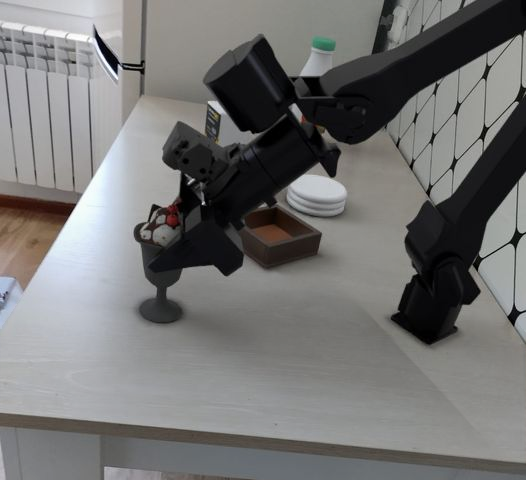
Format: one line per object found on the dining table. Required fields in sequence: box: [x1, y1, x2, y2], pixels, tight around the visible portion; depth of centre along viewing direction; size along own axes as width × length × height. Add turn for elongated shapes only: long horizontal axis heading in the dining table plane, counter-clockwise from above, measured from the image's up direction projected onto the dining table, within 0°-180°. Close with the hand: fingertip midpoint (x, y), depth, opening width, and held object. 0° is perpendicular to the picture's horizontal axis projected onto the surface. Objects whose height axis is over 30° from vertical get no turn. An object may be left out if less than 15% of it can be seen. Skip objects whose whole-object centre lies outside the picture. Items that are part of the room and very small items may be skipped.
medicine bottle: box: [204, 99, 253, 147], centre depth 114 cm, size 7×7×12 cm
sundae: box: [133, 197, 184, 324], centre depth 64 cm, size 7×7×15 cm
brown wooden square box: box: [229, 203, 323, 270], centre depth 85 cm, size 10×10×4 cm
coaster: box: [286, 174, 348, 218], centre depth 99 cm, size 10×10×4 cm
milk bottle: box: [291, 36, 337, 139], centre depth 120 cm, size 8×8×20 cm
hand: (151, 253), depth 64 cm, fingers closed on sundae, 6 cm apart
